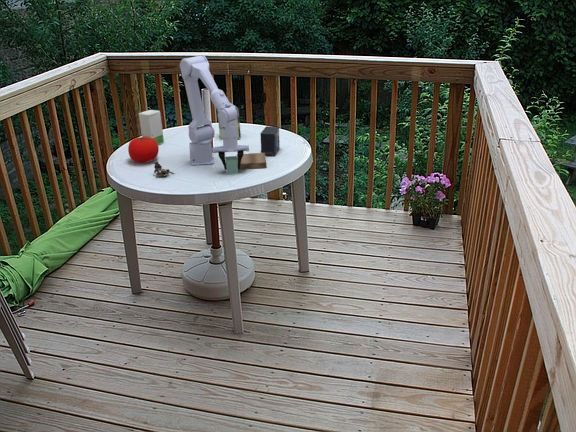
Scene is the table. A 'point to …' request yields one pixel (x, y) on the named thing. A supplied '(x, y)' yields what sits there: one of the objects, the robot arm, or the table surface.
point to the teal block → (231, 165)
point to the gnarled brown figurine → (161, 171)
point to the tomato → (143, 149)
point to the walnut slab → (252, 161)
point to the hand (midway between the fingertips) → (232, 168)
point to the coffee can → (236, 128)
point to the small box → (270, 141)
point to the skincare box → (151, 125)
